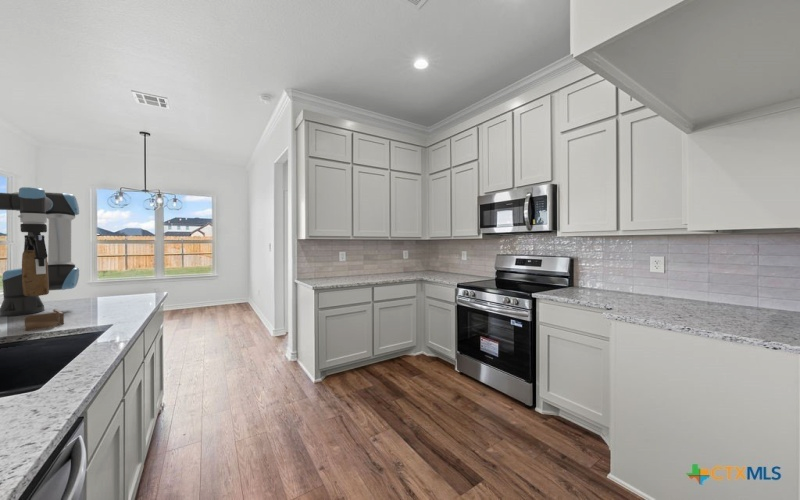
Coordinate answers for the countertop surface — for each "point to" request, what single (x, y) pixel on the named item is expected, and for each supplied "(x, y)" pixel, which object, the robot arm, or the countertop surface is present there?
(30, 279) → the block
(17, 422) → the countertop surface
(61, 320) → the lane rail
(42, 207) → the robot arm
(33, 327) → the lane backstop
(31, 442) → the countertop surface
